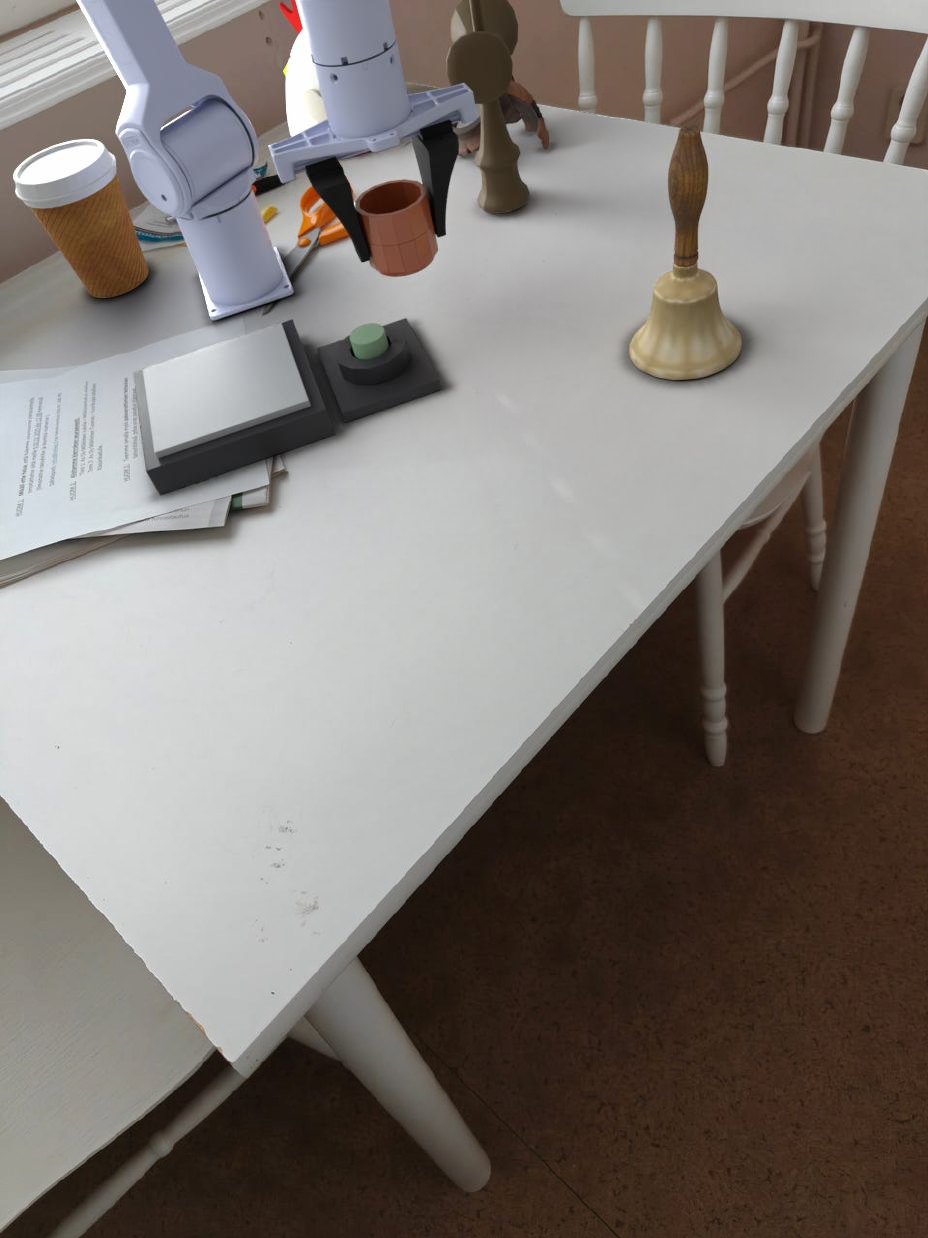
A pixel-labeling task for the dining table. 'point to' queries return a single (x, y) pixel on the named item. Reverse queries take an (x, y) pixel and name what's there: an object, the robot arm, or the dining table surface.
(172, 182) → the robot arm
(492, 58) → the kendama
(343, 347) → the pad
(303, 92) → the kitchen timer
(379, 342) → the tare button
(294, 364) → the scale
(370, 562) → the dining table surface
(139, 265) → the disposable coffee cup
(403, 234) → the terracotta flower pot
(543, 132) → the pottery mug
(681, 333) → the hand bell
